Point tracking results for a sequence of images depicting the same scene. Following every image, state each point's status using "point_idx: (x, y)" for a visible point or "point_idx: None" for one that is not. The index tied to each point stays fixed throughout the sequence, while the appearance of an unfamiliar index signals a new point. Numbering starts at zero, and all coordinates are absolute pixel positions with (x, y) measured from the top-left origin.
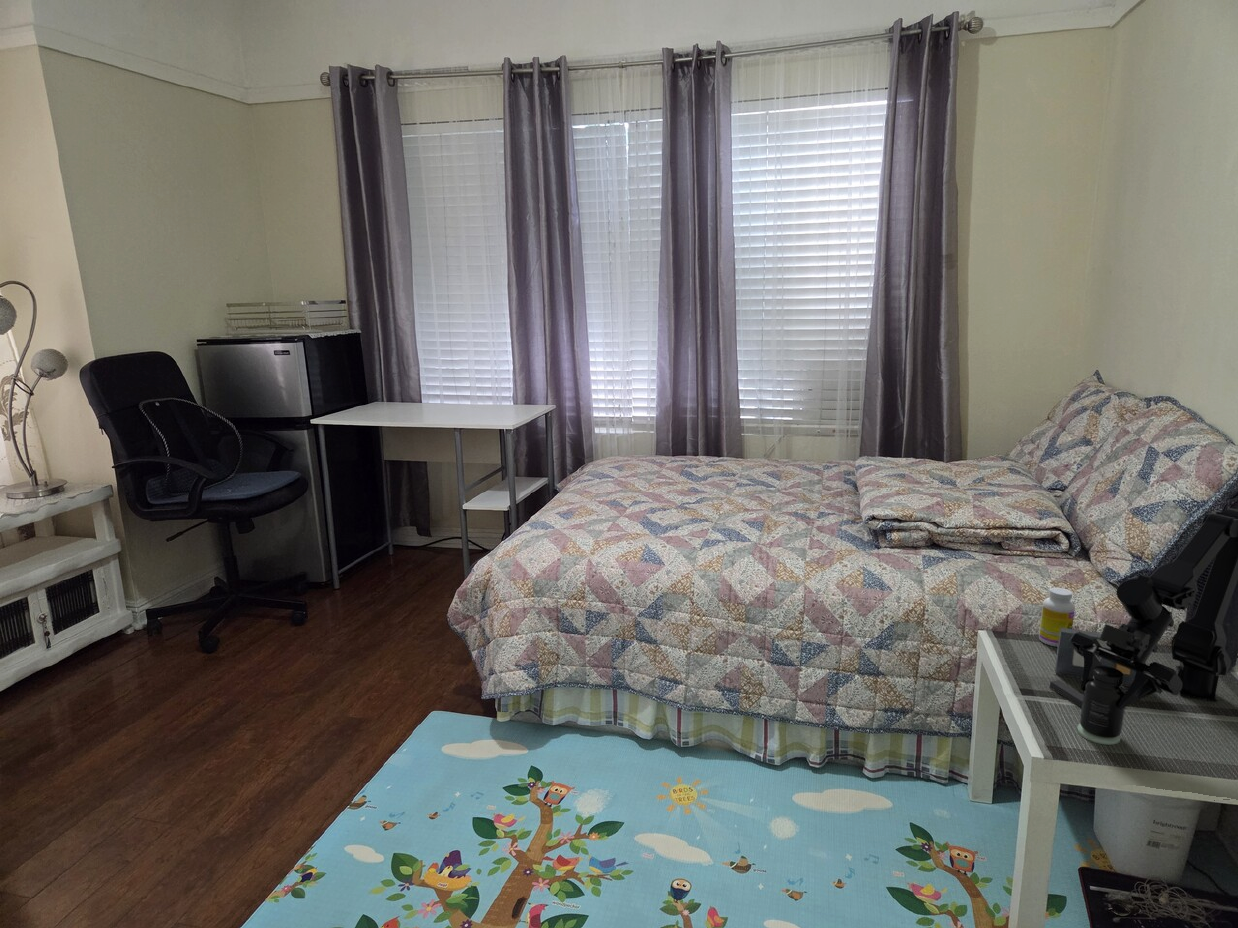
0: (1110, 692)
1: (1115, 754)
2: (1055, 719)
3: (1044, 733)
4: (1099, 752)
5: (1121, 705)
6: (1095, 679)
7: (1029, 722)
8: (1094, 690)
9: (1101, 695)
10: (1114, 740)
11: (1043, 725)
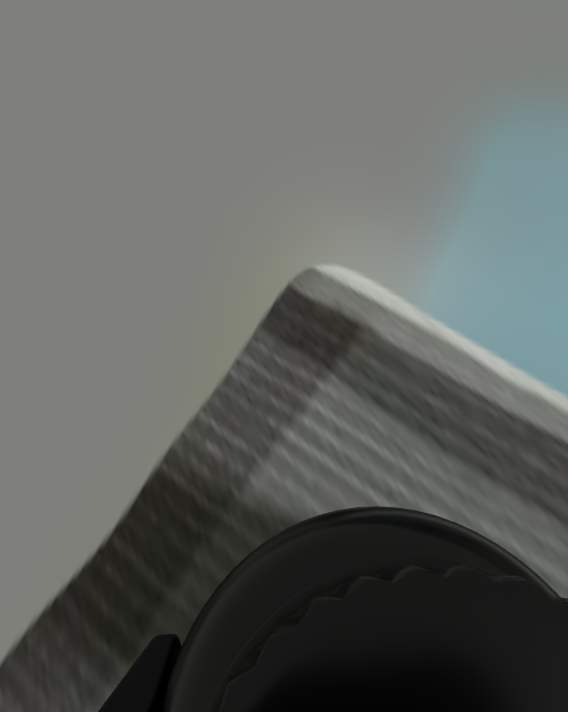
0: (241, 614)
1: (182, 545)
2: (545, 558)
3: (440, 391)
4: (229, 486)
5: (143, 654)
6: (465, 565)
7: (542, 405)
8: (379, 512)
9: (297, 528)
10: None
11: (503, 444)
